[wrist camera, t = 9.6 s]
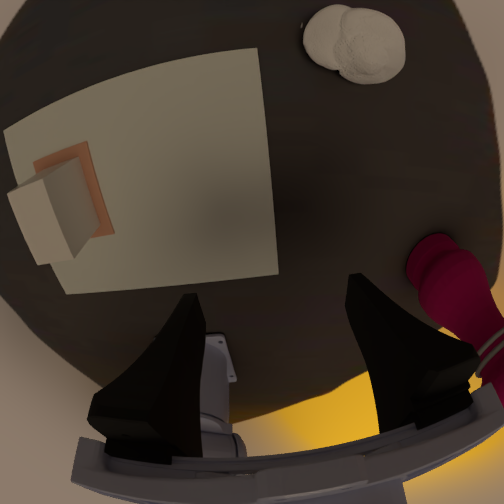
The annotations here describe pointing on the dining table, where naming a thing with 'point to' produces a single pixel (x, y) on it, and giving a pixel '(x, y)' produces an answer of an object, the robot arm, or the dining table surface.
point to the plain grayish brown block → (55, 212)
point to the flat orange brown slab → (90, 178)
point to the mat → (166, 173)
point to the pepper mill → (460, 301)
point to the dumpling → (355, 43)
